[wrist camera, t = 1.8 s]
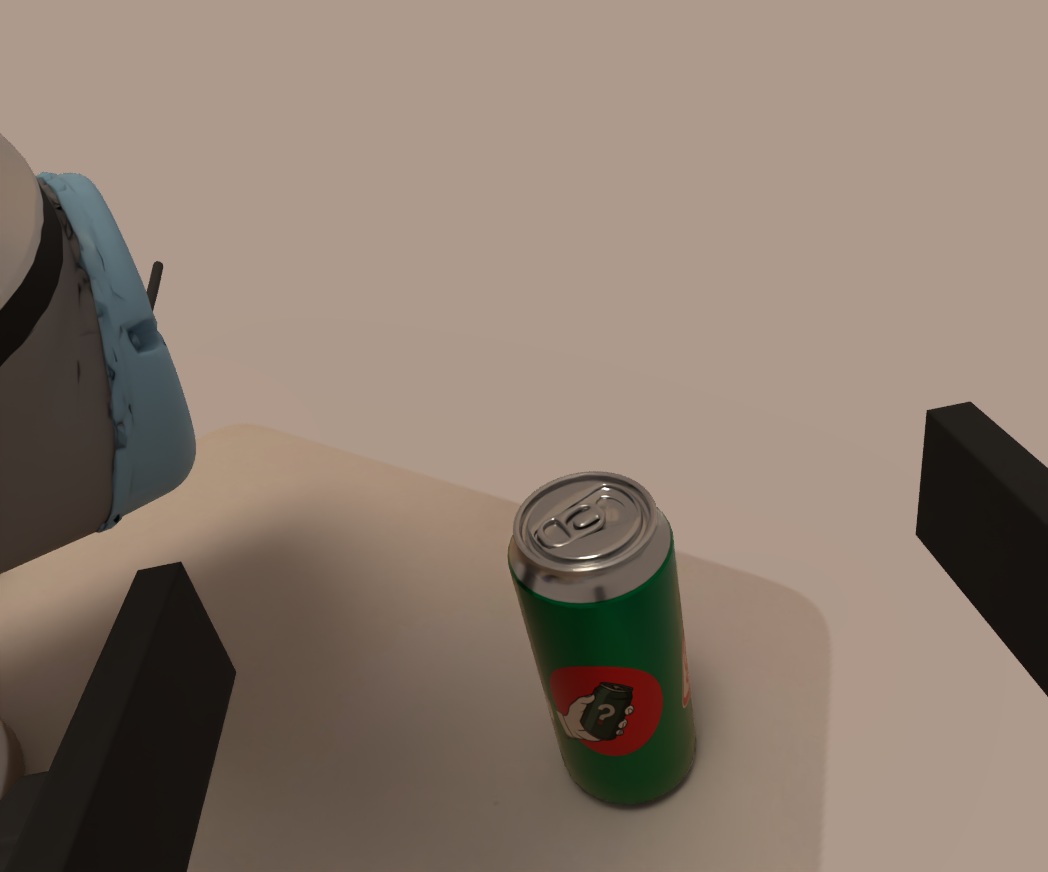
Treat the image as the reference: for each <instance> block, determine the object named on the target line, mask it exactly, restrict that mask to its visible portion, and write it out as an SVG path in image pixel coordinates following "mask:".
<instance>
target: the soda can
mask: <svg viewBox="0 0 1048 872" xmlns="http://www.w3.org/2000/svg"><path fill="white" fill-rule="evenodd" d="M508 565H509V569H510V573H511V576H512V580H513V583H514V587H515V591H516V594H517V598H518V601H519V605H520V608H521V612H522V616H523V619H524V623H525V626H526V630H527V633H528V637H529V641H530V644H531V648H532V651H533V655H534V658H535V662H536V666H537V669H538V673H539V676H540V680H541V684H542V687H543V691H544V694H545V698H546V701H547V705H548V709H549V712H550V716H551V719H552V723H553V726H554V730H555V734H556V737H557V741H558V744H559V748H560V751H561V755H562V758H563V761H564V764H565V767H566V769H567V771H568V772H569V774H570V776H571V777H572V778H573V780H574V781H575V782H576V783H577V784H578V785H579V786H580V787H581V788H582V789H583V790H585V791H586V792H588V793H589V794H591V795H593V796H595V797H597V798H599V799H602V800H605V801H608V802H612V803H620V804H636V803H641V802H646V801H649V800H652V799H655V798H658V797H660V796H661V795H663V794H665V793H667V792H668V791H670V790H671V789H672V788H674V787H675V786H676V785H677V784H678V783H679V782H680V781H681V780H682V779H683V778H684V776H685V775H686V773H687V772H688V770H689V768H690V766H691V764H692V762H693V759H694V755H695V751H696V734H695V726H694V717H693V708H692V699H691V690H690V681H689V673H688V664H687V655H686V646H685V637H684V628H683V620H682V611H681V602H680V593H679V584H678V575H677V567H676V558H675V549H674V540H673V532H672V529H671V526H670V523H669V522H668V520H667V518H666V517H665V515H664V514H663V513H662V512H661V511H660V510H659V509H658V507H656V504H655V501H654V500H653V498H652V496H651V495H650V493H649V492H648V491H647V490H646V489H645V488H644V487H643V486H641V485H640V484H639V483H638V482H636V481H634V480H632V479H630V478H627V477H625V476H622V475H619V474H614V473H608V472H582V473H576V474H571V475H567V476H564V477H561V478H558V479H556V480H553V481H551V482H549V483H547V484H545V485H543V486H542V487H540V488H539V489H537V490H536V491H534V492H533V493H532V494H531V495H530V496H529V497H528V498H527V499H526V500H525V501H524V502H523V504H522V505H521V506H520V508H519V510H518V512H517V514H516V517H515V520H514V526H513V535H512V537H511V540H510V544H509V547H508Z"/></svg>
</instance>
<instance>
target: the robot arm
mask: <svg viewBox="0 0 1048 872" xmlns="http://www.w3.org/2000/svg"><path fill="white" fill-rule="evenodd" d="M162 270H163V264H162V263H161V262H158V261H156V262H155V263H154V264H153V268H152V272H151V277H150V281H149V285H148V289H147V292H146V290H145V288H144V285H143V283H142V280H141V278H140V276H139V273H138V271H137V268H136V266H135V264H134V261H133V259H132V257H131V254H130V252H129V250H128V247H127V245H126V243H125V241H124V239H123V237H122V234H121V232H120V230H119V228H118V226H117V224H116V222H115V220H114V218H113V216H112V214H111V212H110V210H109V208H108V206H107V204H106V202H105V201H104V199H103V197H102V195H101V193H100V192H99V191H98V189H97V188H96V186H95V185H94V184H93V183H92V181H90V180H89V179H88V178H86V177H85V176H83V175H81V174H76V173H63V174H59V175H57V174H53V173H47V172H42V173H40V174H39V175H37V176H35V175H34V173H33V171H32V170H31V168H30V167H29V165H28V163H27V162H26V160H25V159H24V157H23V156H22V155H21V154H20V153H19V152H18V151H17V150H16V149H15V147H14V146H13V145H12V144H11V143H10V142H9V141H8V140H7V139H6V138H5V137H3V136H2V135H1V134H0V574H1V573H3V572H6V571H8V570H10V569H13V568H15V567H17V566H19V565H22V564H24V563H26V562H28V561H31V560H33V559H35V558H38V557H40V556H42V555H44V554H47V553H49V552H51V551H53V550H56V549H58V548H60V547H63V546H65V545H67V544H69V543H72V542H74V541H76V540H78V539H81V538H83V537H85V536H87V535H90V534H92V533H94V532H98V533H100V532H103V531H105V530H108V529H111V528H112V527H114V526H115V525H116V524H117V523H118V522H119V521H120V520H121V519H122V517H123V516H124V515H126V514H128V513H130V512H132V511H134V510H136V509H138V508H140V507H142V506H144V505H146V504H148V503H150V502H152V501H154V500H156V499H157V498H159V497H161V496H163V495H165V494H167V493H169V492H171V491H172V490H174V489H175V488H177V487H178V486H179V485H180V484H181V483H182V482H183V481H184V480H185V479H186V478H187V476H188V474H189V473H190V471H191V469H192V466H193V463H194V461H195V455H196V442H195V435H194V429H193V425H192V421H191V418H190V413H189V410H188V406H187V403H186V400H185V397H184V393H183V390H182V387H181V384H180V381H179V378H178V375H177V372H176V369H175V367H174V364H173V361H172V359H171V356H170V354H169V351H168V348H167V346H166V344H165V342H164V340H163V337H162V336H161V334H160V333H159V332H158V331H157V321H156V319H155V316H154V314H153V309H154V305H155V301H156V297H157V293H158V289H159V285H160V280H161V275H162ZM916 535H917V536H918V538H919V539H920V540H921V542H922V543H923V544H924V545H925V547H926V548H927V549H928V550H929V551H930V553H931V554H932V555H933V556H934V558H935V559H936V560H937V561H938V563H939V564H940V565H941V566H942V567H943V569H944V570H945V571H946V572H947V574H948V575H949V576H950V577H951V578H952V580H953V581H954V582H955V583H956V585H957V586H958V587H959V588H960V590H961V591H962V592H963V593H964V594H965V596H966V597H967V598H968V599H969V601H970V602H971V603H972V604H973V605H974V606H975V608H976V609H977V610H978V612H979V613H980V614H981V615H982V616H983V618H984V619H985V620H986V621H987V623H988V624H989V625H990V626H991V627H992V629H993V630H994V631H995V632H996V634H997V635H998V636H999V637H1000V639H1001V640H1002V641H1003V642H1004V643H1005V645H1006V646H1007V647H1008V648H1009V649H1010V651H1011V652H1012V653H1013V654H1014V656H1015V657H1016V658H1017V659H1018V661H1019V662H1020V663H1021V664H1022V665H1023V667H1024V668H1025V669H1026V670H1027V672H1028V673H1029V674H1030V675H1031V676H1032V678H1033V679H1034V680H1035V681H1036V683H1037V684H1038V685H1039V686H1040V688H1041V689H1042V690H1043V691H1044V692H1045V694H1046V695H1047V696H1048V468H1047V467H1046V466H1045V465H1044V464H1042V463H1041V462H1040V461H1039V460H1038V459H1037V458H1035V457H1034V456H1033V455H1032V454H1030V453H1029V452H1028V451H1027V450H1026V449H1025V448H1024V447H1022V446H1021V445H1020V444H1019V443H1018V442H1017V441H1015V440H1014V439H1013V438H1012V437H1011V436H1010V435H1009V434H1007V433H1006V432H1005V431H1004V430H1003V429H1002V428H1000V427H999V426H998V425H997V424H996V423H995V422H994V421H992V420H991V419H990V418H989V417H988V416H987V415H985V414H984V413H983V412H982V411H981V410H979V409H978V408H977V407H976V406H975V405H974V404H973V403H972V402H966V403H961V404H956V405H951V406H946V407H941V408H936V409H931V410H927V413H926V425H925V436H924V448H923V458H922V469H921V481H920V492H919V503H918V515H917V526H916ZM235 676H236V670H235V668H234V666H233V664H232V662H231V660H230V658H229V656H228V654H227V652H226V650H225V648H224V646H223V644H222V642H221V640H220V638H219V636H218V634H217V632H216V630H215V628H214V626H213V624H212V622H211V620H210V618H209V616H208V614H207V612H206V610H205V608H204V606H203V604H202V602H201V600H200V598H199V596H198V594H197V592H196V590H195V588H194V586H193V584H192V582H191V580H190V578H189V576H188V574H187V572H186V570H185V568H184V566H183V564H182V562H177V563H172V564H167V565H162V566H157V567H152V568H147V569H142V570H138V571H137V573H136V575H135V578H134V580H133V582H132V584H131V587H130V589H129V591H128V593H127V596H126V598H125V600H124V602H123V605H122V607H121V609H120V611H119V614H118V616H117V618H116V620H115V623H114V625H113V627H112V629H111V632H110V634H109V636H108V638H107V640H106V643H105V645H104V647H103V649H102V652H101V654H100V656H99V658H98V661H97V663H96V665H95V667H94V670H93V672H92V674H91V676H90V679H89V681H88V683H87V685H86V688H85V690H84V692H83V694H82V697H81V699H80V701H79V703H78V706H77V708H76V710H75V712H74V715H73V717H72V719H71V721H70V724H69V726H68V728H67V730H66V733H65V735H64V737H63V739H62V742H61V744H60V746H59V748H58V751H57V753H56V755H55V757H54V760H53V762H52V764H51V766H50V769H49V771H46V772H41V773H36V774H31V775H26V776H25V765H24V758H23V753H22V749H21V746H20V743H19V741H18V739H17V737H16V735H15V734H14V732H13V731H12V730H11V729H10V727H9V726H8V725H7V724H6V723H5V722H4V721H3V720H2V719H1V718H0V872H187V868H188V864H189V860H190V856H191V852H192V848H193V844H194V840H195V836H196V832H197V828H198V824H199V820H200V816H201V812H202V808H203V804H204V800H205V796H206V792H207V788H208V784H209V780H210V776H211V772H212V768H213V764H214V760H215V756H216V752H217V748H218V744H219V740H220V736H221V732H222V728H223V724H224V720H225V716H226V712H227V708H228V704H229V700H230V696H231V692H232V688H233V684H234V680H235Z"/></svg>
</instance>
